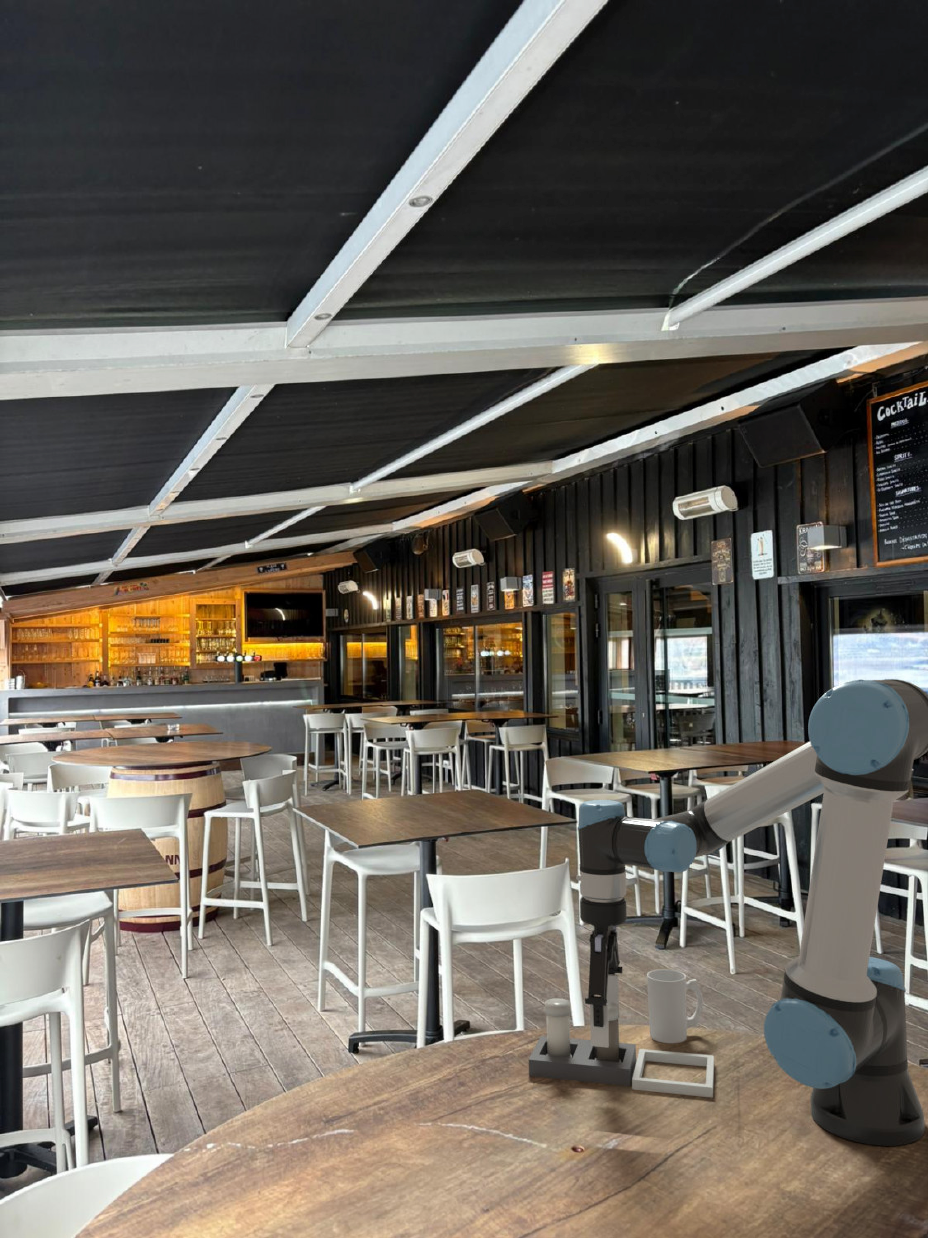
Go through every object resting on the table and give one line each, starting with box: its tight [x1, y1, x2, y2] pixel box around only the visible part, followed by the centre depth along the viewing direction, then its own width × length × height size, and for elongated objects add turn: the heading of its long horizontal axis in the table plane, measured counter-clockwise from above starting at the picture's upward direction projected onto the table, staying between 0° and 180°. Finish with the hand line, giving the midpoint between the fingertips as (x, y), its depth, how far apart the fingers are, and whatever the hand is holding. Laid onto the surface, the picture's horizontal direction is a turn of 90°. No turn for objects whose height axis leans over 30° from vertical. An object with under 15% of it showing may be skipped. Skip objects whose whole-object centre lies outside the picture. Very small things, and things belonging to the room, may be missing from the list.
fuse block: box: [528, 1035, 637, 1087], centre depth 150 cm, size 16×10×4 cm, turn 74°
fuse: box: [544, 997, 572, 1058], centre depth 151 cm, size 4×4×10 cm
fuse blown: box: [595, 1002, 621, 1062], centre depth 149 cm, size 4×4×10 cm
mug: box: [646, 968, 704, 1044], centre depth 163 cm, size 10×7×12 cm, turn 99°
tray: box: [631, 1048, 715, 1098], centre depth 146 cm, size 12×12×3 cm
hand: (605, 1029), depth 150 cm, fingers open, 13 cm apart
